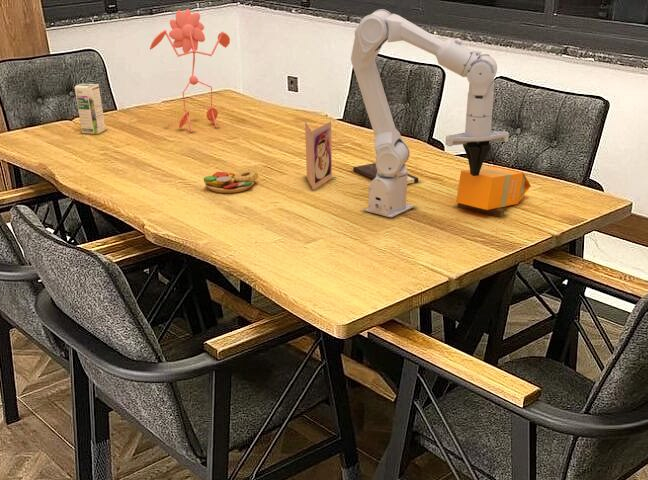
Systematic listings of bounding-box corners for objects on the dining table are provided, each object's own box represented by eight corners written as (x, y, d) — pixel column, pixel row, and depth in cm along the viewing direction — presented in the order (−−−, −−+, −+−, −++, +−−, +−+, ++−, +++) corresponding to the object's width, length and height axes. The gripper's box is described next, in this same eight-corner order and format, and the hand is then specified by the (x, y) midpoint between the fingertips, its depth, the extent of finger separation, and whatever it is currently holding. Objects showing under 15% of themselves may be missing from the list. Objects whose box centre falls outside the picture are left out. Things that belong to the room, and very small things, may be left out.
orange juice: (455, 202, 201) (498, 194, 215) (487, 210, 196) (528, 201, 210) (460, 169, 197) (503, 163, 211) (492, 176, 192) (534, 170, 206)
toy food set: (263, 181, 224) (262, 169, 222) (245, 196, 213) (244, 184, 212) (217, 177, 227) (215, 165, 226) (197, 192, 217) (196, 180, 215)
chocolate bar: (380, 161, 234) (418, 178, 221) (380, 165, 235) (418, 181, 222) (353, 167, 230) (390, 183, 217) (353, 170, 231) (390, 187, 218)
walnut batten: (500, 217, 198) (500, 211, 197) (457, 207, 205) (457, 201, 204) (504, 215, 199) (505, 209, 199) (461, 204, 206) (462, 199, 205)
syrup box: (81, 133, 269) (73, 86, 261) (91, 129, 274) (83, 82, 266) (97, 134, 268) (89, 87, 260) (106, 130, 272) (99, 83, 264)
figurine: (240, 124, 276) (232, 8, 257) (169, 137, 264) (155, 15, 245) (219, 115, 287) (209, 3, 268) (149, 127, 274) (134, 10, 256)
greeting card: (316, 190, 217) (314, 131, 209) (291, 187, 219) (288, 128, 211) (334, 178, 225) (334, 121, 217) (310, 175, 228) (308, 118, 220)
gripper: (502, 108, 191) (496, 167, 199) (442, 112, 189) (439, 172, 196) (514, 115, 186) (508, 175, 193) (453, 119, 183) (449, 181, 190)
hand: (474, 174), depth 194 cm, fingers closed
